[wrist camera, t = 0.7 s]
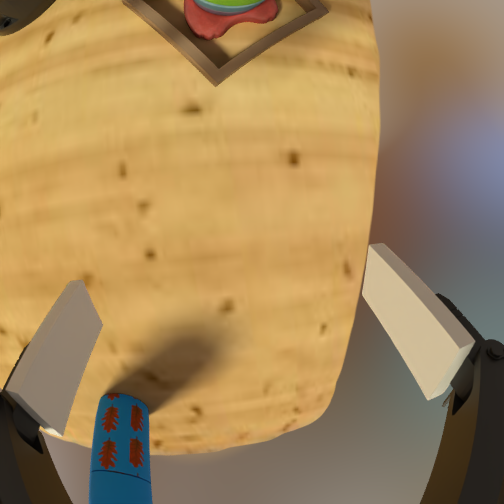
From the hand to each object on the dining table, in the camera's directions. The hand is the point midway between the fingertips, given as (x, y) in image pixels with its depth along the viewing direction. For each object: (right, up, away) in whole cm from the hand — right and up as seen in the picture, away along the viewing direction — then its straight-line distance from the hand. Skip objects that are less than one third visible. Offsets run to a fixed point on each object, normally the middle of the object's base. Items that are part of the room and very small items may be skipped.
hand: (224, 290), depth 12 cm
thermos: (-25, -30, +33) cm, 51 cm away
